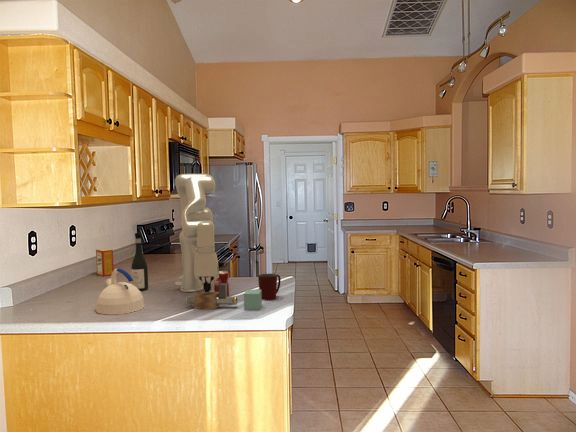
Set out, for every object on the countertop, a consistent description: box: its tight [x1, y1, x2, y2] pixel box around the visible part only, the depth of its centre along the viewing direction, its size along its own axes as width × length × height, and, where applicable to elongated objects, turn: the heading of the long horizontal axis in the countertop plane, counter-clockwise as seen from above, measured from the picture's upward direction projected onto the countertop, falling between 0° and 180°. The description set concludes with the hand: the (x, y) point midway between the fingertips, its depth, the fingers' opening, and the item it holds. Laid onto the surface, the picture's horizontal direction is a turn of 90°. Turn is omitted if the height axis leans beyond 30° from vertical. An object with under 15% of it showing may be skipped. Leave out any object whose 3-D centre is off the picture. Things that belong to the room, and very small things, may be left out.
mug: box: [257, 273, 282, 301], centre depth 214 cm, size 12×9×11 cm
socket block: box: [243, 289, 263, 311], centre depth 198 cm, size 6×8×7 cm
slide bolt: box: [186, 283, 238, 306], centre depth 199 cm, size 22×3×9 cm, turn 85°
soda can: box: [213, 270, 230, 297], centre depth 218 cm, size 7×7×12 cm
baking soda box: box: [95, 248, 115, 277], centre depth 280 cm, size 10×6×16 cm
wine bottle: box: [130, 232, 149, 292], centre depth 236 cm, size 8×8×30 cm
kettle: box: [95, 268, 145, 316], centre depth 201 cm, size 20×21×18 cm
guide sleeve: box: [193, 291, 220, 310], centre depth 200 cm, size 10×6×6 cm
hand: (207, 291), depth 199 cm, fingers closed
